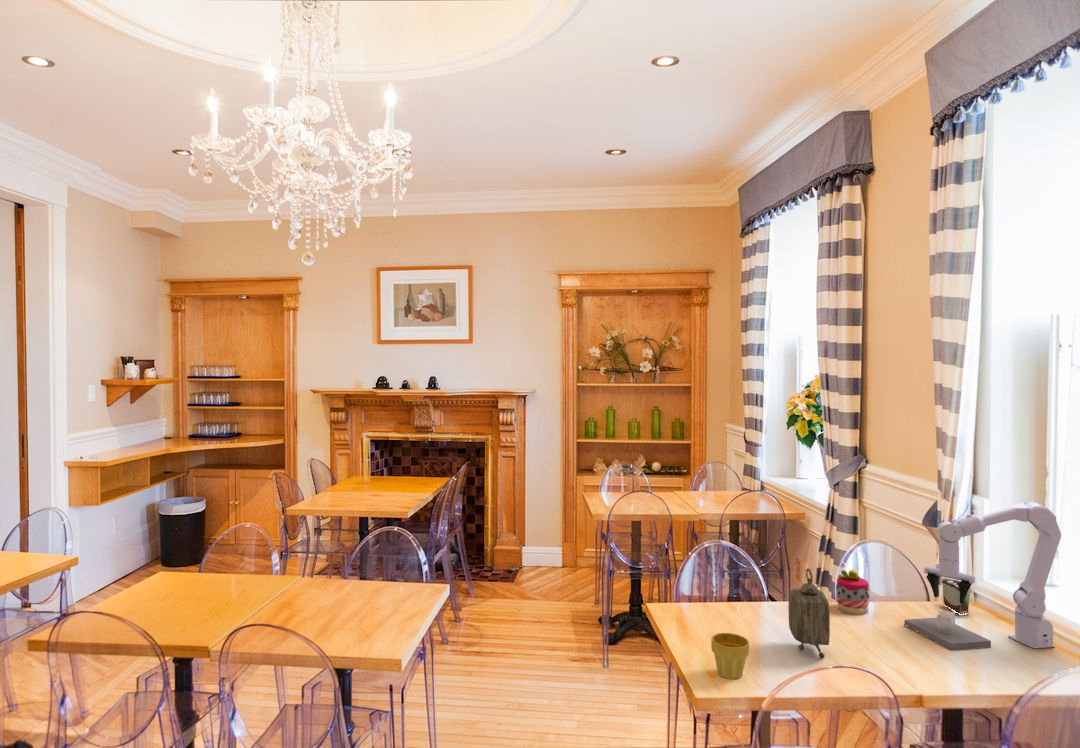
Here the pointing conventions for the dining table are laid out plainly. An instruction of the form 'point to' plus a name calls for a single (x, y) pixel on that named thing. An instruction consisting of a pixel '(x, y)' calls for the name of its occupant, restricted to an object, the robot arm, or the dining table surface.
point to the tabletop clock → (809, 615)
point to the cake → (852, 593)
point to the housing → (946, 622)
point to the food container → (954, 596)
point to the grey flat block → (948, 635)
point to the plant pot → (730, 654)
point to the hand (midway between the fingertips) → (949, 599)
